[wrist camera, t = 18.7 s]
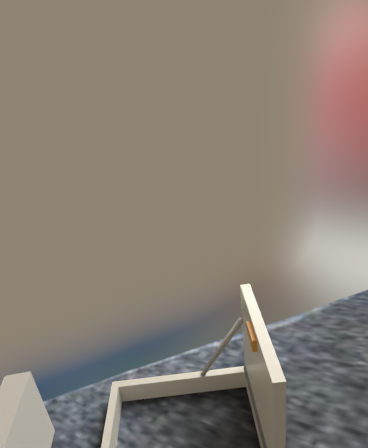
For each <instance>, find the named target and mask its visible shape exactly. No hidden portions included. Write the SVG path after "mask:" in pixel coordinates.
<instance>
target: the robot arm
mask: <svg viewBox="0 0 368 448" xmlns="http://www.w3.org/2000/svg"><path fill="white" fill-rule="evenodd" d="M54 431H55V430H54V428H53V425H52V423H51V420H50V418H49V415H48V413H47V411H46V408H45V406H44V403H43V401H42V399H41V396H40V394H39V391H38V389H37V386H36V384H35V381H34V380H33V377H32V374H31V372H24V373H19V374H14V375H8V376H5V377H4V379H3V382H2V384H1V386H0V448H51V445H52V440H53V436H54Z"/></svg>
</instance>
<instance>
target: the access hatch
mask: <svg viewBox="0 0 368 448" xmlns="http://www.w3.org/2000/svg"><path fill="white" fill-rule="evenodd" d="M240 289H241V306H242V318H239V319H238V320H237V322H236V323H235V325H234V326H233V327H232V329H231V330H230V332H229V333H228V335H227V336H226V337H225V339H224V340H223V342H222V343H221V345H220V346H219V347H218V349H217V350H216V352H215V353H214V354H213V356H212V357H211V359H210V360H209V362H208V363H207V364H206V366H205V367H204V369H203V370H202V371H200V372H192V373H183V374H175V375H166V376H158V377H150V378H141V379H133V380H125V381H116V382H112V387H111V393H110V399H109V404H108V410H107V416H106V421H105V427H104V433H103V438H102V444H101V448H116V445H117V438H118V431H119V423H120V416H121V408H122V402H124V401H132V400H140V399H149V398H157V397H166V396H174V395H182V394H191V393H199V392H208V391H216V390H225V389H233V388H241V387H246V389H247V393H248V397H249V402H250V406H251V410H252V414H253V418H254V422H255V426H256V430H257V434H258V439H259V443H260V447H261V448H286V380H285V377H284V374H283V372H282V369H281V366H280V364H279V361H278V358H277V356H276V353H275V350H274V348H273V345H272V342H271V340H270V337H269V334H268V332H267V329H266V326H265V324H264V321H263V318H262V316H261V313H260V310H259V308H258V306H257V303H256V300H255V297H254V294H253V292H252V289H251V286H250V284H245V285H240ZM242 323H243V340H244V357H245V366H242V367H233V368H225V369H217V370H209V369H210V368H211V366H212V365H213V364H214V362H215V361H216V359H217V358H218V357H219V355H220V354H221V352H222V351H223V350H224V348H225V347H226V345H227V344H228V343H229V341H230V340H231V338H232V337H233V336H234V334H235V333H236V331H237V330H238V328H239V327H240V326H241V324H242Z"/></svg>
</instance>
